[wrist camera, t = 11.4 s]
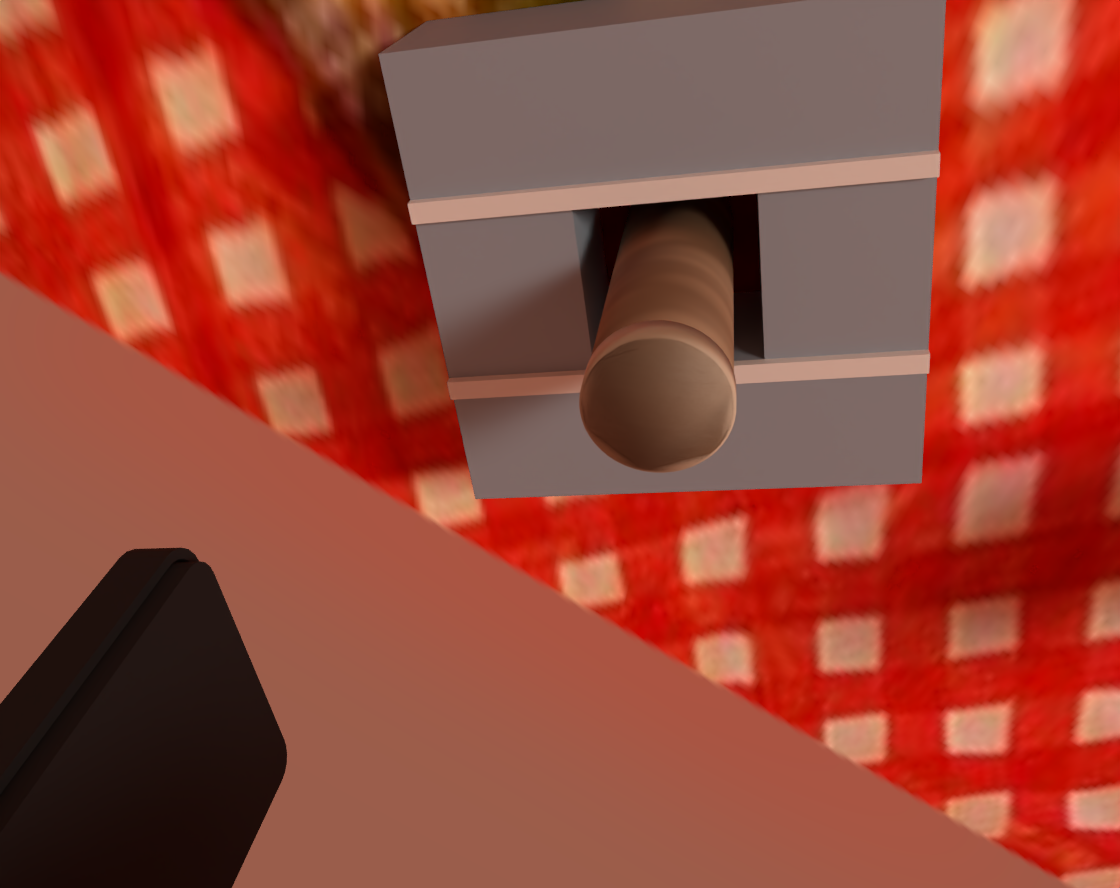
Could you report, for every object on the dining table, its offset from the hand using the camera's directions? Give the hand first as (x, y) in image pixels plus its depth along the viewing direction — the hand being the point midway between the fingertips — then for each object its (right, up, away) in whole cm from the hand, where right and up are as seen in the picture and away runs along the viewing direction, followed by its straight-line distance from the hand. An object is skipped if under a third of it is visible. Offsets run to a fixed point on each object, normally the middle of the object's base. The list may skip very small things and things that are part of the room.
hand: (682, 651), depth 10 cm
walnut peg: (+3, +9, +23) cm, 25 cm away
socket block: (+3, +9, +23) cm, 25 cm away
